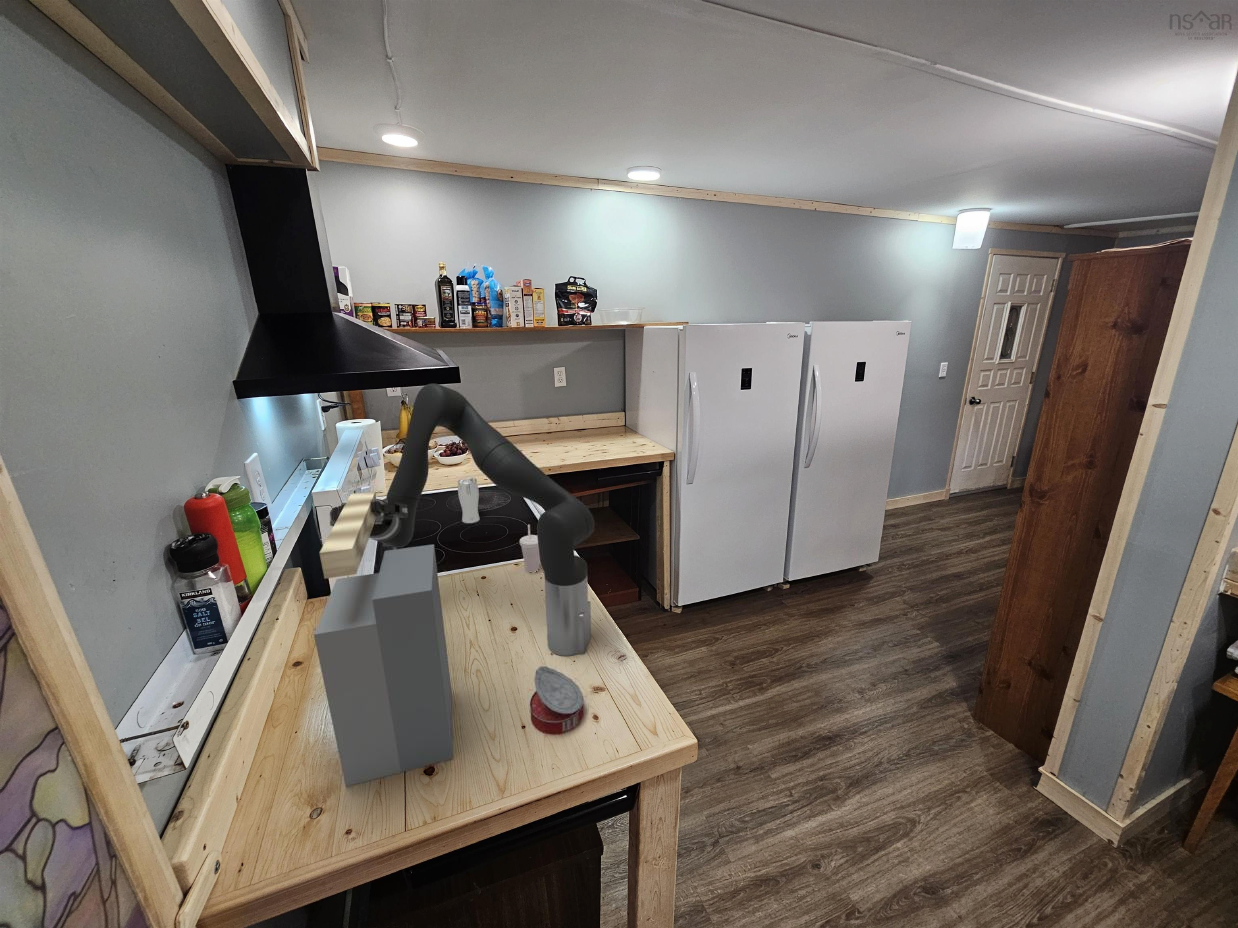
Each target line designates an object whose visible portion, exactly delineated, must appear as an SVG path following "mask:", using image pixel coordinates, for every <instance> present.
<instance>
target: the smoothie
mask: <svg viewBox="0 0 1238 928" xmlns="http://www.w3.org/2000/svg"><path fill="white" fill-rule="evenodd" d="M527 529H528V530H527V534H528V535H524V536H523V537H521V538H520V539H519V545H520V546H521V547H520V548H521V552H522V556H523V557H522V558H523V562H524V566H525V567H524V568H525V571H526V572H527V573H528V572H535V571H537V570H538V569H539V570H540V564H541V562H540V556H539V547H538V538H537V535H535V534H531V525H530V524H528V525H527ZM537 572H538V571H537ZM535 573H536V572H535Z"/></svg>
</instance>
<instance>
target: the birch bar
mask: <svg viewBox="0 0 1238 928" xmlns="http://www.w3.org/2000/svg"><path fill="white" fill-rule="evenodd" d="M376 499H377V494H376V491H367V492H356V493H350V495H349V497H348V498H347V501H346V502H345V503H346V505H345V506H344V508H343V510H342V512H341V514H340V515H339V517H338V519H337V521H336V523H335V525H334V526H332V529H330V530H331V531H330V533H329V534H328V536H327V538H326V540H325V542H324V544H323V546H322V547H321V549H320V551H319V557H320V562H321V567H322V572H323V573H322V574H323V578H324V579H334V578H338V577H346V576H347V577H348V576H354V575H357V573H358V571H359V567H360V565H361V562H362V559H363V558H364V554H365V551H366V548H367V545H368V542H369V539H370V538H369V537H370V534H371V531H372V528H373V525H374V523H375V520H376V517H377V515H374V514H373V513H372V512H371V502H370V501H371V500H376ZM376 501H377V500H376Z"/></svg>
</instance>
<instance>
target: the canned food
mask: <svg viewBox="0 0 1238 928" xmlns="http://www.w3.org/2000/svg"><path fill="white" fill-rule="evenodd" d="M534 686H535V692H533V694H532V696H531V698H530V700H529V709H530V710H529V711H530V722H531V724H532V726H533V727H534V729H536V730H537V731H538V732H540V733H543V734H546V735H549V736H550V735H554V736H557V735H558V736H559V735H564V734H566V733H568V732H570V731H571V732H572V730H574V729H575V728H576V727H578V725H580V723H581V722H582V719H583V717H584V696H583V692H582V691H581V689H580V687H579V685H578V684H576V682H575V681H574V680H573V679H572V678H570V677H568V676H567V675H565V674H564V673H562V672H560V671H558V670H556V669H554V668H550V667H548V666H540V667H538V668H537V669H536V670H535V676H534Z"/></svg>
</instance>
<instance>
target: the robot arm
mask: <svg viewBox="0 0 1238 928" xmlns="http://www.w3.org/2000/svg"><path fill="white" fill-rule="evenodd" d="M437 426H438V427H442V428H444V429H447V430H448V431H450V432H452V433H453V435H455V436H456V437H457V438H459V439H460V441H462V442H463V443H464V444H465V445H466V447H467V448H468V450H469V453H470V456H471V457H472V460H473V462H474V464H475V465H476V466H477V468H478V469H479V470H480V472H481V473H482V474H483V475H484V476H486V477H487V478H488V479H489V480H490V481H491V482H492V483H493V484H494V485H495V486H496V487H498V488H499V489H501V490H504V491H506V492H508V493H510V494H513V495H516V496H519V497H521V498H523V499H524V498H525V499H527V500H529V501H531V502H533V503H535V504H537V505H538V506H540V507H541V508H542V509H543V510H545V511H544V512H543V513H541V514H540V516H539V517H538V521H537V523H536V525H537V526H536V534H537V538H538V547H539V556H540V565H541V568H542V570H543V575H544V594H545V595H544V596H545V612H546V613H545V615H546V617H545V618H546V634H547V635H546V636H547V637H546V638H547V647H548V650H550V651H551V652H552V653H553V654H556V655H559V656H564V657H567V656H574V655H578V654H582V655H583V654H586V651H587V648H588V646H589V643H590V641H591V638H592V614H591V613H592V612H591V610H592V609H591V607H592V604H591V600H590V601H589V600H588V599H589V598H588V597H589V596H588V595H589V593H588V590H589V589H588V588H589V587H588V564H587V561H586V560H585V559H584V558H583V557H581V556H578V555H576V554H575V546H577V545H579V544H581V542H584V541H585V540H587V538H589V537H590V536H591V535H592V534H593V533H594V531H595V527H596V523H595V519H594V516H593V514H592V512H591V511H590V509H589V508H588V507H587V506H586V505H585V504H584V503H583V502H582V501H581V500H579V499H578V498H577V497H576V496H575V495H573V494H571V492H569V491H568V490H566V489H565V488H564V487H562V486H561V485H559V484H558V483H557V482H555V481H554V480H553V479H552V478H550V476H548V475H547V474H546V473H545V472H544V471H543V470H541V469H540V468H539V467H538V466H537V465H536V464H535V463H534V462H532V461H531V459H529V458H528V457H527V455H525V454H524V453H523V452H522V451H521V450H520V449H519V448H518V447H517V446H516V445H515V444H514V443H512V442H511V441H510V440H509V439H508V438H506V437H505V436H504V435H503V434H502V433H501V432H500V431H498V430H497V429H496V428H495V427H493V426H492V425H491V424H490V423H488V422H487V421H486V420H485V419H484V418H483V417H482V416H481V414H479V412H478V411H477V410H476V409H475V408H474V406H473V405H472V404H471V403H470V401H469V400H467V398H466V397H465V396H464V395H463V394H462V393H460V392H459V391H457V390H455V389H452V388H450V387H447V386H445V385H442V384H438V383H428V384H426V385H424V386H423V387H422V388H421V389H420V390H419V391H418V392H417V395H416V397H415V398H414V403H413V407H412V410H411V415H410V419H409V424H408V428H407V432H406V436H405V437H406V438H405V442H404V445H403V450H402V454H401V457H400V460H399V464H398V466H397V469H396V471H395V474H394V476H393V479H392V481H391V483H390V486H389V488H388V491H387V493H386V501H385V500H383V499H380V498H376V500H377V501H376V500H371V501H370V502H371V512H372V513H373V514H374V515H377V517H376V520H375V523H374V525H373V528H372V531H371V534H370V537H369V539H370V540H374V541H376V542H379V543H381V544H384V545H388V546H391V547H393V548H395V549H396V548H397V549H403V548H404V547H406V546H408V544H409V543H410V542H411V541H412V538H413V536H414V531H415V520H416V513H417V507H418V503H419V502H420V499H421V496H422V494H423V491H424V488H425V486H426V484H427V481H428V477H429V468H430V467H429V449H430V448H429V447H430V441H431V438H432V436H433V433H434V431H435V430H436V427H437ZM345 505H346V502H343V503H342V502H341V503H340V505H338V506H335V507H332V508H331V509H330V511H329V525H330V526H331V527H334V525H335V523H336V521H337V519H338V517H339V515H340V514H341V512H342V510H343V508H344V506H345Z"/></svg>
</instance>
